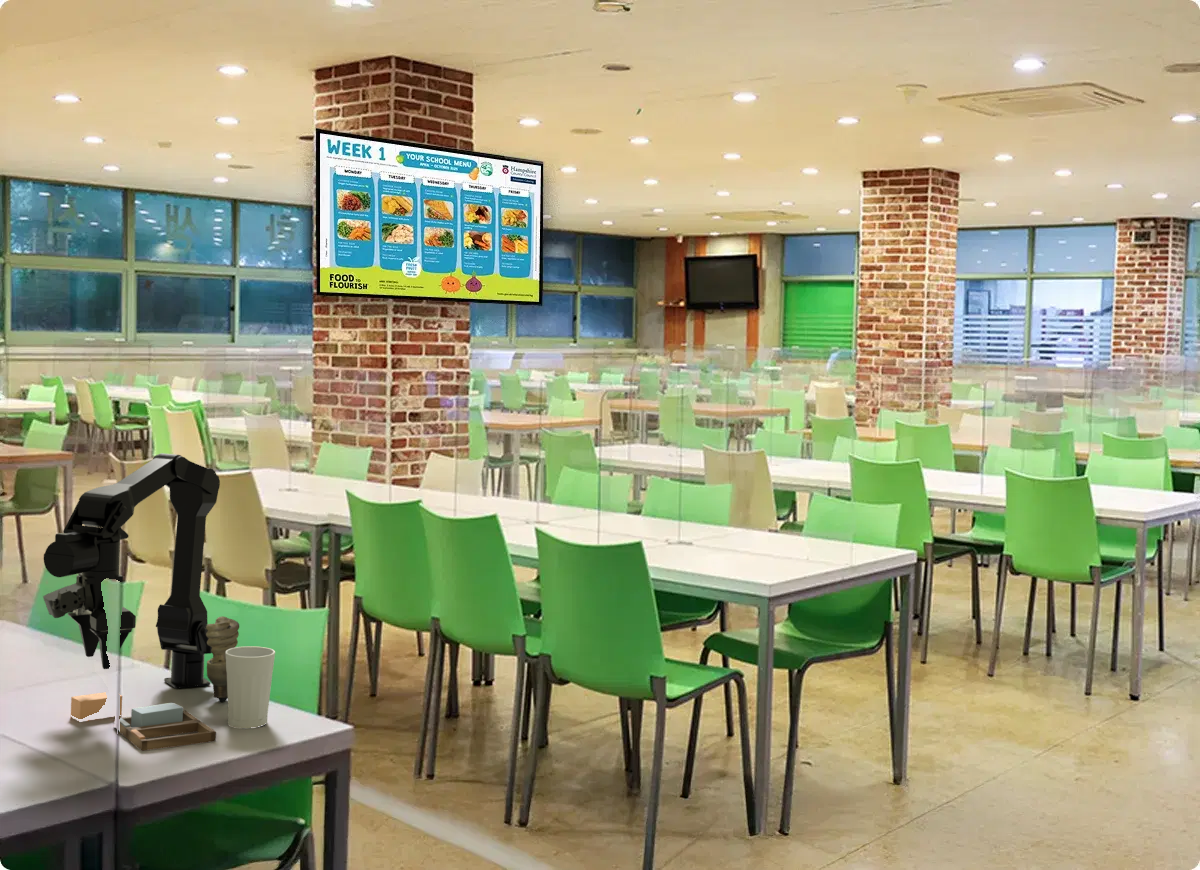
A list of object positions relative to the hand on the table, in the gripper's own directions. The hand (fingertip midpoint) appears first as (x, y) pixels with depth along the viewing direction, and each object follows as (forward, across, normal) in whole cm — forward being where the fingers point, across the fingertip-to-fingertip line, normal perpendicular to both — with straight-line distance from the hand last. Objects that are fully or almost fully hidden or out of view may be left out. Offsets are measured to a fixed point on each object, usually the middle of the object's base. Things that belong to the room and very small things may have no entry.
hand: (97, 662), depth 221 cm
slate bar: (+9, +11, +6) cm, 16 cm away
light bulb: (+9, -1, +21) cm, 23 cm away
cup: (+9, +14, +20) cm, 26 cm away
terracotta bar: (+9, 0, 0) cm, 9 cm away
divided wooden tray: (+9, +14, +6) cm, 18 cm away
